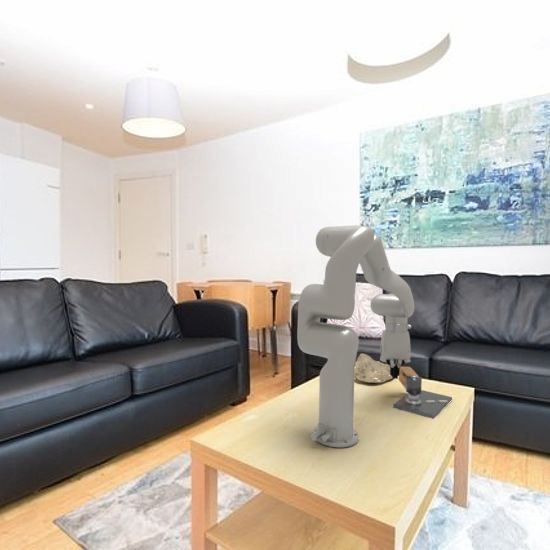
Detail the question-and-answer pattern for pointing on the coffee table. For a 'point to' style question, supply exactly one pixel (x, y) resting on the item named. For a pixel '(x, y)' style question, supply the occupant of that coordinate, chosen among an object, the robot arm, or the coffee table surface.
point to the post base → (423, 403)
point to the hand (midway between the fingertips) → (394, 377)
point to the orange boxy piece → (410, 380)
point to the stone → (371, 370)
